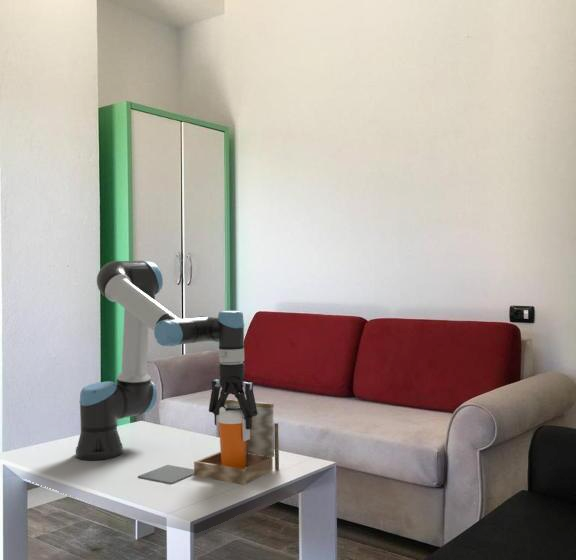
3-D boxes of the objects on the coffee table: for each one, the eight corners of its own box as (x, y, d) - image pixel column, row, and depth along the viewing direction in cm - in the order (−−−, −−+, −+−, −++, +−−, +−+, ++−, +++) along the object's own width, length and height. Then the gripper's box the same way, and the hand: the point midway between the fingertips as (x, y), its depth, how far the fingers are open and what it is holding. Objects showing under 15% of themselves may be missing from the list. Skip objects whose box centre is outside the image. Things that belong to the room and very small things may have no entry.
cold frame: (194, 475, 197) (193, 407, 197) (228, 460, 211) (227, 398, 211) (247, 485, 187) (246, 414, 187) (279, 469, 201) (278, 403, 201)
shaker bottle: (244, 478, 193) (243, 409, 193) (214, 476, 195) (213, 408, 195) (252, 469, 202) (250, 403, 202) (223, 467, 204) (222, 402, 204)
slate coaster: (137, 477, 196) (137, 476, 196) (167, 466, 207) (167, 464, 207) (171, 484, 189) (171, 482, 189) (200, 471, 200) (200, 470, 200)
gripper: (195, 362, 201) (196, 436, 201) (254, 366, 189) (256, 445, 190) (210, 359, 207) (212, 431, 207) (269, 363, 196) (270, 439, 196)
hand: (233, 437), depth 198 cm, fingers closed on shaker bottle, 9 cm apart
